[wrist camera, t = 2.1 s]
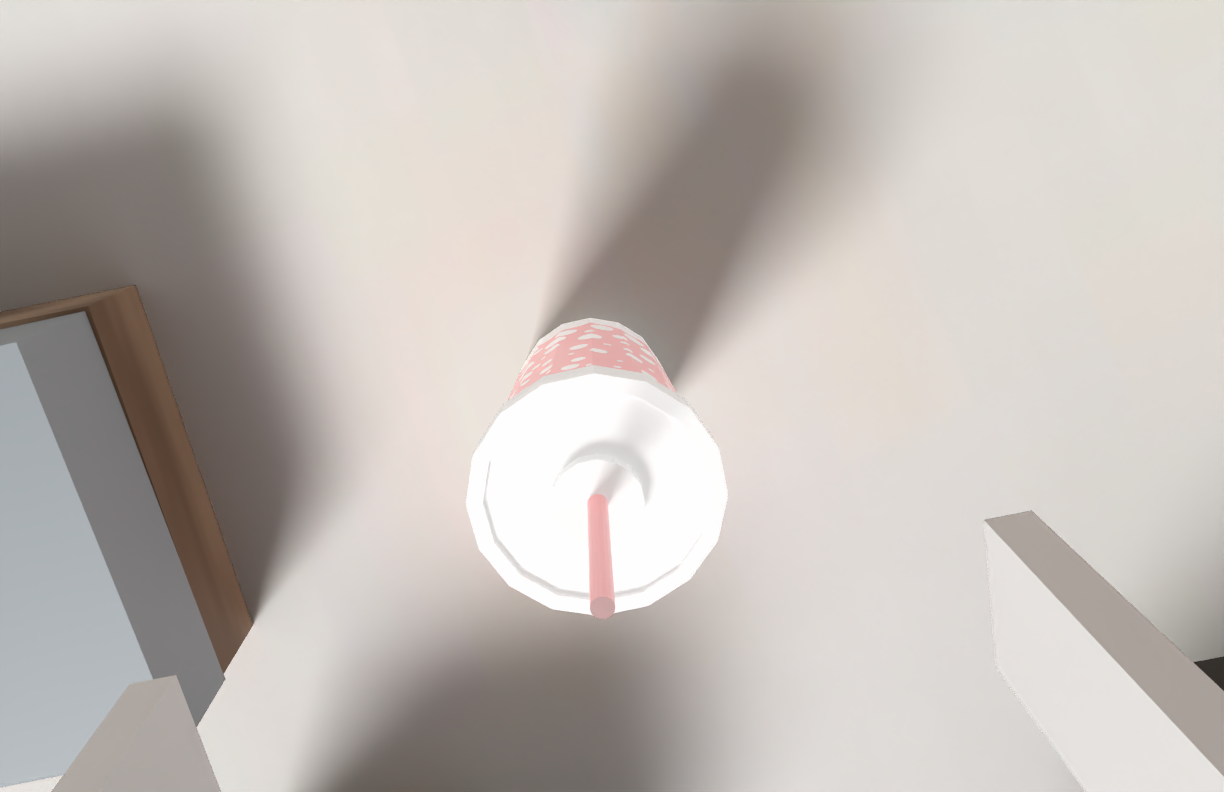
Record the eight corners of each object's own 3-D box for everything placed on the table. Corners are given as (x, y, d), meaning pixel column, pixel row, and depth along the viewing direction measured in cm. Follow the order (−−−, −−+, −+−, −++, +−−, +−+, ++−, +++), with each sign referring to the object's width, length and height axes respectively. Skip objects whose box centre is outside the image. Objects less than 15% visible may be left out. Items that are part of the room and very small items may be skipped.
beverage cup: (645, 501, 33) (691, 785, 19) (469, 440, 32) (392, 693, 19) (717, 333, 31) (821, 518, 18) (534, 265, 30) (500, 404, 17)
